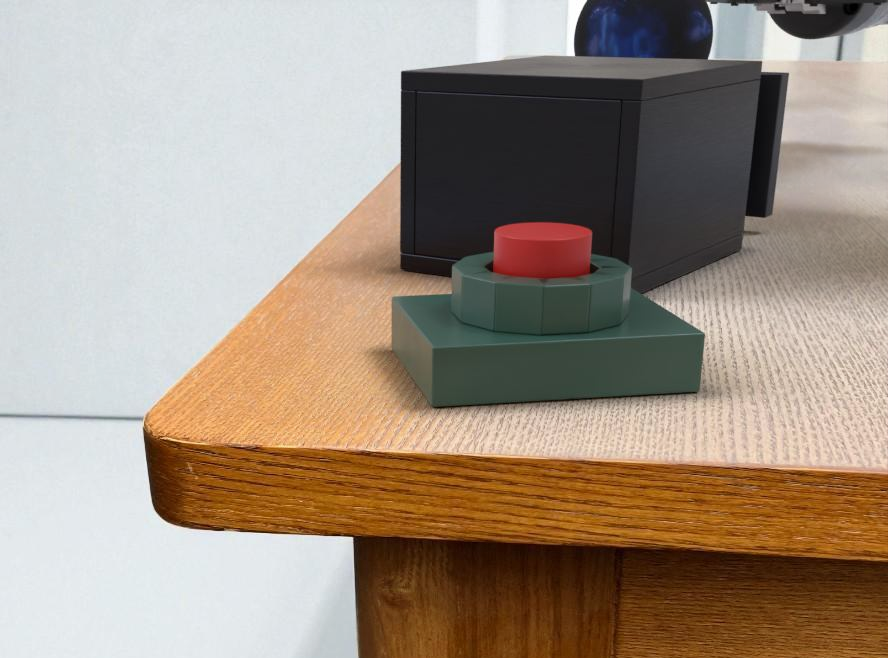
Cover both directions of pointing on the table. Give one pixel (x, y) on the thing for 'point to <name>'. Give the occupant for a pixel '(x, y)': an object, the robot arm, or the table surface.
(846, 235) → the table surface
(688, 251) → the black paneled box
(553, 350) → the block
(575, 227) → the button
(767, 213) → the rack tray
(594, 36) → the decorative sphere
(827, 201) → the table surface
